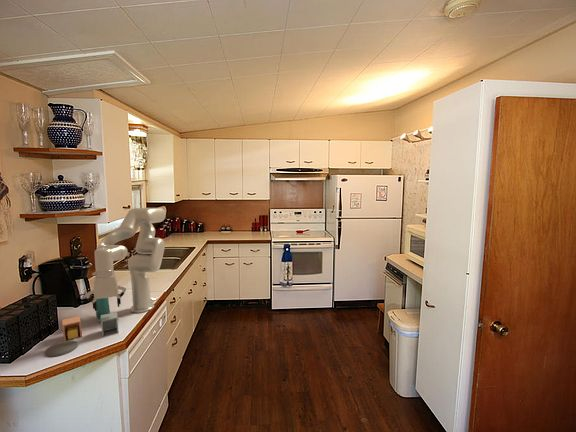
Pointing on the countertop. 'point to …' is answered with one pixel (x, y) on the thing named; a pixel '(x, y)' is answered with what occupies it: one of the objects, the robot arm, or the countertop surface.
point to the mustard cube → (72, 332)
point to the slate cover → (109, 322)
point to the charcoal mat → (61, 348)
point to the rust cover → (71, 325)
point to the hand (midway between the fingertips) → (107, 307)
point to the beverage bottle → (102, 307)
